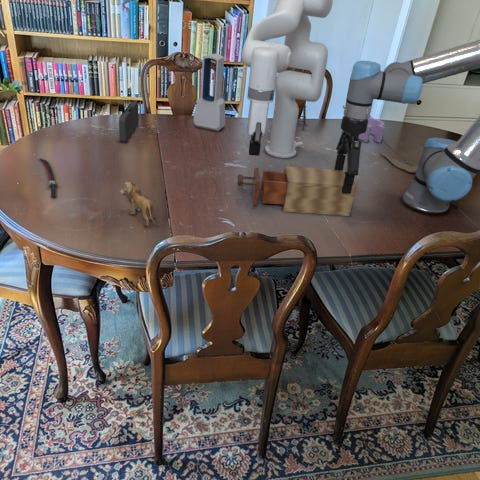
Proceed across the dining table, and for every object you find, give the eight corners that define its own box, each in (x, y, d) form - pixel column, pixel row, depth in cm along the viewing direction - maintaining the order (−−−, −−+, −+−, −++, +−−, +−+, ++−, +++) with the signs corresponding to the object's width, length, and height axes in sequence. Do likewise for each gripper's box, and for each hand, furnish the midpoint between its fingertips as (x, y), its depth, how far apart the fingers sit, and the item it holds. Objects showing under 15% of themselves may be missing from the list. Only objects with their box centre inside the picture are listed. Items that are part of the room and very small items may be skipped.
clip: (343, 126, 223) (346, 112, 219) (367, 127, 225) (371, 113, 221) (360, 142, 206) (364, 127, 202) (386, 142, 209) (390, 127, 205)
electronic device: (225, 127, 206) (230, 56, 190) (219, 132, 200) (224, 59, 184) (199, 122, 209) (202, 51, 193) (192, 127, 203) (195, 54, 187)
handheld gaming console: (132, 123, 200) (131, 100, 194) (138, 124, 200) (138, 100, 194) (118, 143, 180) (117, 117, 175) (125, 143, 180) (124, 118, 175)
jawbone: (419, 178, 180) (420, 173, 178) (370, 161, 190) (371, 157, 189) (428, 170, 185) (429, 165, 184) (380, 154, 196) (381, 150, 195)
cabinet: (283, 211, 147) (288, 181, 141) (280, 194, 156) (284, 165, 151) (349, 216, 148) (356, 186, 143) (342, 199, 158) (349, 170, 152)
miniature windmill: (304, 130, 212) (315, 61, 196) (285, 127, 213) (296, 59, 197) (305, 124, 220) (317, 57, 204) (288, 121, 221) (298, 55, 205)
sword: (61, 197, 141) (61, 193, 140) (50, 198, 139) (50, 194, 139) (49, 160, 164) (48, 156, 163) (39, 160, 163) (39, 157, 162)
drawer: (236, 204, 146) (238, 179, 141) (235, 189, 154) (238, 166, 150) (315, 209, 148) (320, 185, 143) (310, 195, 156) (315, 172, 151)
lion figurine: (118, 210, 138) (116, 182, 133) (132, 204, 141) (131, 177, 137) (151, 229, 130) (150, 201, 126) (165, 223, 134) (165, 195, 129)
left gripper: (247, 85, 139) (241, 144, 148) (248, 100, 126) (242, 163, 136) (272, 88, 139) (264, 146, 149) (276, 103, 126) (267, 165, 136)
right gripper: (335, 103, 147) (323, 166, 158) (352, 131, 126) (337, 200, 137) (358, 105, 147) (345, 167, 159) (379, 133, 126) (362, 202, 138)
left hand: (253, 154), depth 142 cm, fingers closed
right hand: (341, 183), depth 148 cm, fingers open, 13 cm apart
